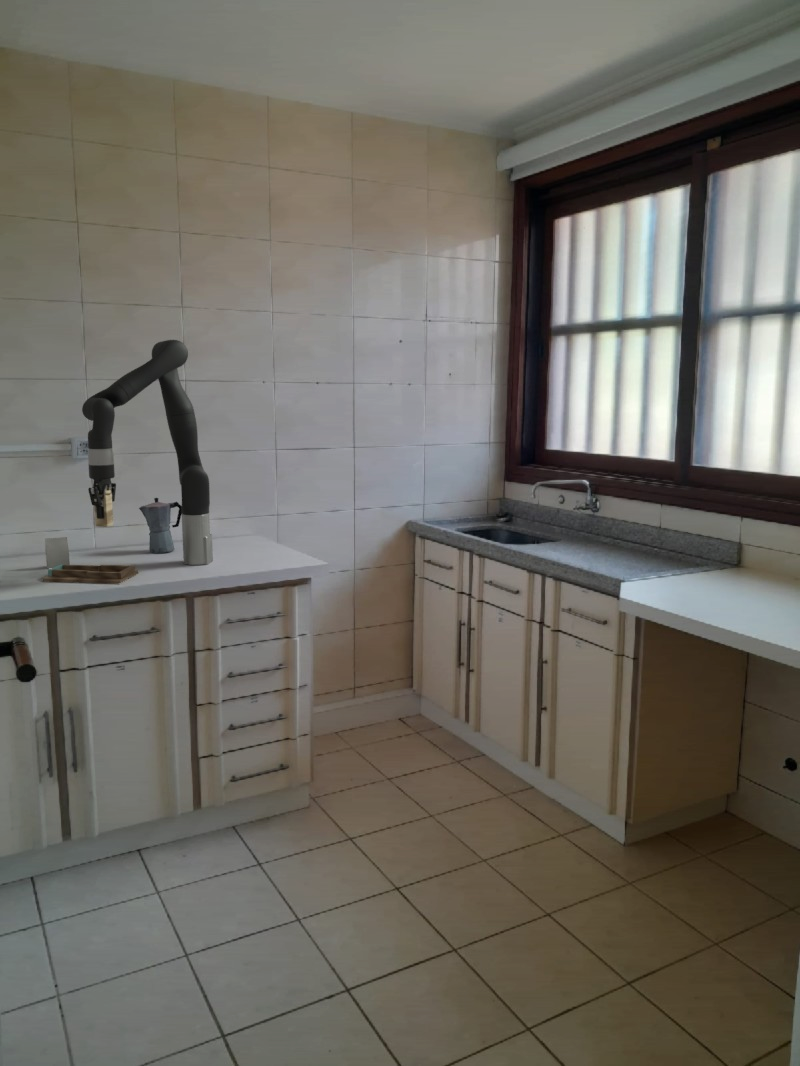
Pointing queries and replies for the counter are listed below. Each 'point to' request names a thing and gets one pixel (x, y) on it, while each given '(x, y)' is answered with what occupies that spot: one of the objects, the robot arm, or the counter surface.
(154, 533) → the moka pot
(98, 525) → the maple peg
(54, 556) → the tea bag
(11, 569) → the counter surface
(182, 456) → the robot arm
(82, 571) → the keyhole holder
